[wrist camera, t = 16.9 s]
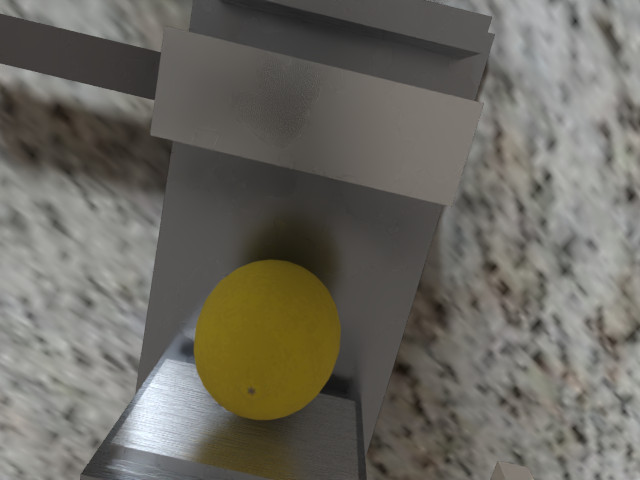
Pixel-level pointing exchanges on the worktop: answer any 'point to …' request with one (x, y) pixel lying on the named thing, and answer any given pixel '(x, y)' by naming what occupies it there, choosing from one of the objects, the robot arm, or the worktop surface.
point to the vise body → (289, 253)
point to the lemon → (267, 339)
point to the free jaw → (269, 106)
